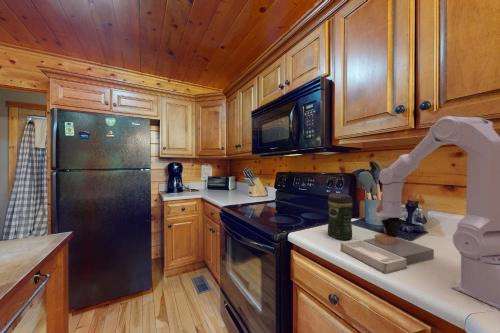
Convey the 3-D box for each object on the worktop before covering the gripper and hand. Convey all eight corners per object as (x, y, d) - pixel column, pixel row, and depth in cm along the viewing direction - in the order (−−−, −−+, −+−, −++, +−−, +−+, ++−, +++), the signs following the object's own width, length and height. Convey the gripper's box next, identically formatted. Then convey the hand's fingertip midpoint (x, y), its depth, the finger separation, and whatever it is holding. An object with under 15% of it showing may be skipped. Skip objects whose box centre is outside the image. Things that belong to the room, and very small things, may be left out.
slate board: (433, 258, 66) (433, 249, 66) (402, 266, 61) (402, 256, 61) (391, 242, 79) (391, 235, 79) (363, 248, 74) (363, 240, 74)
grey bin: (406, 268, 60) (406, 258, 60) (384, 273, 57) (384, 264, 57) (359, 246, 75) (359, 239, 75) (340, 250, 72) (340, 242, 72)
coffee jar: (356, 239, 83) (356, 194, 83) (341, 241, 81) (341, 195, 80) (338, 231, 92) (338, 191, 92) (324, 234, 90) (324, 192, 89)
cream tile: (378, 260, 60) (378, 267, 60) (389, 258, 61) (389, 264, 61) (365, 254, 64) (365, 260, 64) (376, 252, 65) (375, 258, 65)
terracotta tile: (395, 243, 71) (395, 237, 71) (386, 244, 70) (386, 239, 70) (383, 238, 76) (383, 233, 76) (374, 240, 74) (374, 234, 74)
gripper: (394, 198, 80) (394, 232, 80) (367, 200, 75) (367, 236, 75) (414, 201, 73) (413, 238, 73) (385, 204, 68) (385, 243, 68)
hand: (391, 238), depth 74 cm, fingers closed
